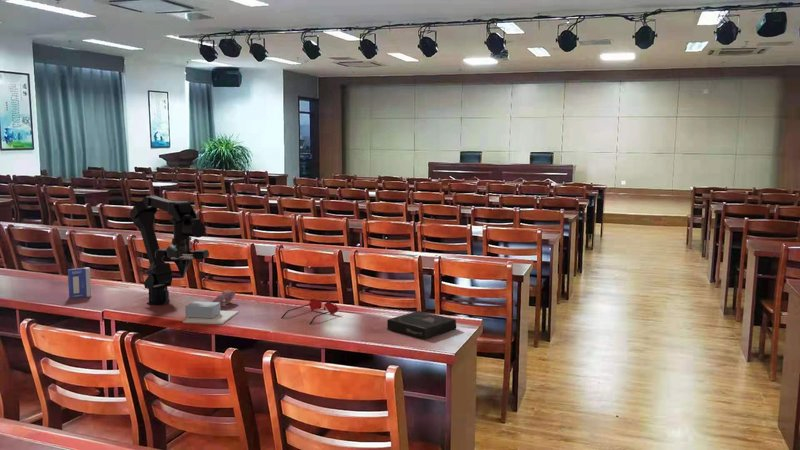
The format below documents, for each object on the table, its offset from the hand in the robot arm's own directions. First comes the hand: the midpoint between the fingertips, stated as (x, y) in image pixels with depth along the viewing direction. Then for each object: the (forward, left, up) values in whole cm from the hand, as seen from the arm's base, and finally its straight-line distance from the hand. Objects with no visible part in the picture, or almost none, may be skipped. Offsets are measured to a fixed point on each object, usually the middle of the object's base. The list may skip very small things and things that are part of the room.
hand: (182, 276), depth 234 cm
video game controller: (+12, +8, -13) cm, 20 cm away
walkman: (-49, +12, -13) cm, 52 cm away
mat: (+15, -10, -12) cm, 22 cm away
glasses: (+49, -3, -13) cm, 51 cm away
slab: (+7, -10, -10) cm, 16 cm away
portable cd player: (+91, -14, -13) cm, 93 cm away
